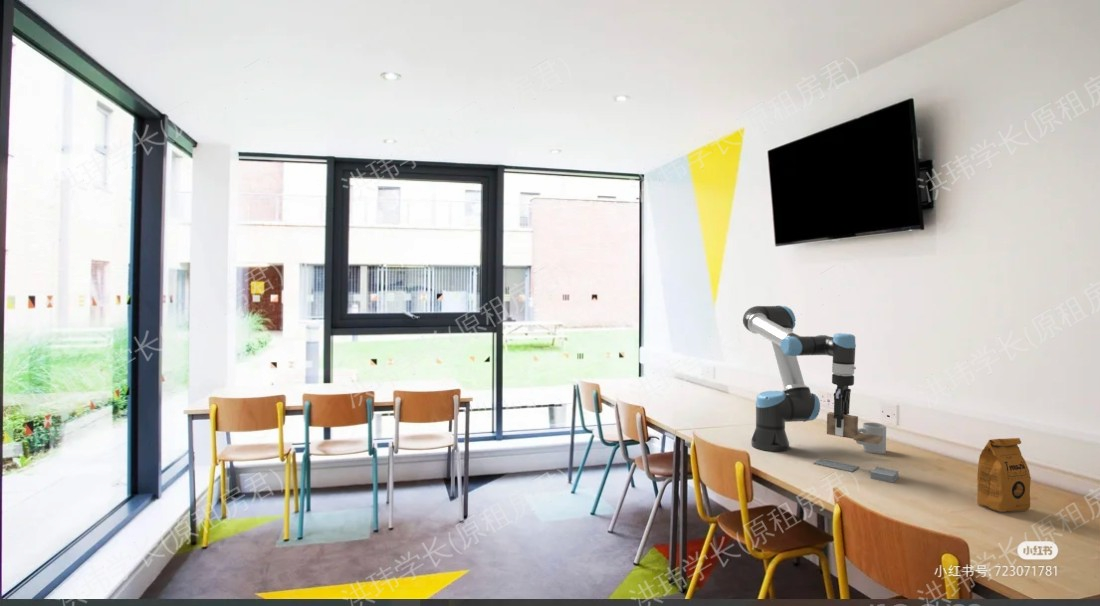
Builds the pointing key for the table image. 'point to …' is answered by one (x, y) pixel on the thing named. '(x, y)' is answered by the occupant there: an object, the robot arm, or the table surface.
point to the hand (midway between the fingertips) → (840, 434)
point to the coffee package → (1003, 476)
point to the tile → (884, 474)
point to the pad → (836, 465)
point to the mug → (874, 430)
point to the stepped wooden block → (851, 429)
